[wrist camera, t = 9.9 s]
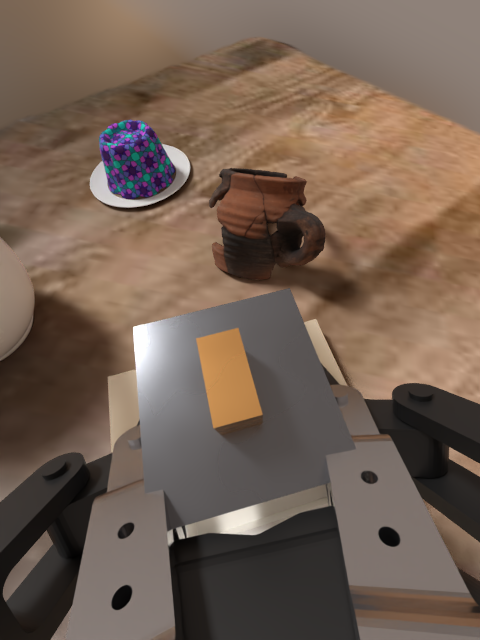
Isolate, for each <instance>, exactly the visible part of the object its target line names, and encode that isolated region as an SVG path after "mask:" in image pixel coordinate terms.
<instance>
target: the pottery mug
mask: <svg viewBox="0 0 480 640" xmlns="http://www.w3.org/2000/svg"><path fill="white" fill-rule="evenodd" d="M219 176H220V177H221V178H222V183H221V184H220V185H219V186H218V187H217V188H216V190H215V191H214V193H213V195H212V197H211V199H210V200H209V206H210V208H212V207H214V206H215V204H216V202H217V200H222V201H221V202H220V205H219V206H218V208H217V217H218V221H219V222H220V223H221V224H222V225H223V227H222V228H221V229H222V237H223V244H224V246H222V245H220V244H218V243H217V242H215V243H213V244H212V251H213V255H214V259H215V265H216V266H217V267H218V268H220V269H221V270H223V271H225V272H228V273H230V274H233V275H236V276H238V277H243V278H247V279H269V278H270V276H271V271H272V270H273V268H274V265H275V263H277V264H278V265H279V266H280V267H288V266H290V265H294V266H295V265H299V266H301V265H304V264H307V263H308V262H310V261H312V260H314V259H315V258H316V257H317V256H318V255H319V253H320V252H321V251H323V249H324V243H325V229H324V226H323V224H322V222H321V221H320V220H319V218H318V217H316V216H315V215H313V214H312V213H309V212H306V211H305V209H304V207H302V206H304V205H305V203H306V198H305V196H304V193H303V192H304V187H305V185H306V182H307V181H306V180H305V179H302V178H299V177H297V176H295V177H294V178H293V179H292V178H287V175H286V174H284V173H277V172H269V171H262V170H251V169H237V168H233V169H232V168H230V169H223V170H222V171H221V172H220V174H219ZM267 223H277V229H278V230H277V231H276V232H275V233H274V234H272V235H269V232H268V226H267V225H268V224H267ZM303 236H304V243H303V246H302V247H301V248H300V246H301V243H302V237H303Z"/></svg>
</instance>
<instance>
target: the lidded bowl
mask: <svg viewBox="0 0 480 640" xmlns="http://www.w3.org/2000/svg"><path fill="white" fill-rule="evenodd" d="M34 305H35V296H34V288H33V284H32V281H31V279H30V276H29V274H28V271H27V270H26V268H25V267H24V265H23V264H22V262H21V261H20V259H19V258H18V256H17V255H16V254H15V253H14V251H13V250H12V249H11V248H10V247H9V245H8V244H7V243H6V242H5V241H4V240H3V239H2V238H1V237H0V361H2V360H3V359H5V358H6V357H8V356H9V355H11V354H12V353H13V352H14V351H15V350H16V349H17V348H18V347H19V346H20V345H21V344H22V343H23V342H24V340H25V339H26V337H27V336H28V334H29V332H30V330H31V328H32V324H33V318H34V315H33V312H34Z"/></svg>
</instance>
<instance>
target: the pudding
mask: <svg viewBox="0 0 480 640" xmlns="http://www.w3.org/2000/svg"><path fill="white" fill-rule="evenodd" d="M99 144H100V152H101V156H102V160H103V161H102V162H101V163H100V164H99V165H98V166H97V167H96V168H95V170H94V171H93V173H92V176H91V178H90V188H91V191H92V193H93V195H94V196H95V197H96V198H97V199H98V200H100V201H102V202H103V203H106V204H108V205H111V206H116V207H127V208H129V207H140V206H145V205H149V204H152V203H156V202H158V201H160V200H163V199H165V198H167V197H168V196H170V195H172V194H173V193H175V192H176V191H177V190H178V189H179V188H180V187H181V186H182V185H183V184H184V183H185V181H186V180H187V178H188V176H189V173H190V162H189V160H188V158H187V156H186V155H185V154H184V153H183V152H181V151H180V150H179V149H177V148H174V147H172V146H168V145H164V144H161V142H160V140H159V139H158V137H157V135H156V133H155V132H154V131H153V129H152V128H151V127H149V126H148V125H147V124H146V123H145V122H143V121H132V120H125V121H122V122H120V123H115V124H112V125H110V126H109V127H108V128H107V130H105V131H103V132H102V133H101V134H100V137H99ZM172 163H173V164H174V166H175V167H174V166H173V164H172ZM175 168H176V177H175V179H174V181H173V179H172V177H171V176H172V175H173V174H174V173H175ZM107 180H108V184H109V188H110V190H109V189H108V186H107ZM172 181H173V183H172ZM171 183H172V184H171ZM170 184H171V185H170ZM169 185H170V186H169ZM168 186H169V187H168ZM165 187H168V188H167V189H166V190H164V191H163V192H161V193H159V194H157V193H158V192H159V190H160V189H161V188H165ZM110 191H111V192H112V193H114V194H121V195H122V197H123V198H126V199H122V198H119V197H117V196H115V195H113V194H112V193H111V192H110ZM155 194H157V195H155ZM153 195H155V196H153ZM139 196H142V197H149V198H146V199H140V200H127V199H135V198H137V197H139ZM150 196H152V197H150Z"/></svg>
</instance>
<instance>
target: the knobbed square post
mask: <svg viewBox="0 0 480 640" xmlns="http://www.w3.org/2000/svg"><path fill="white" fill-rule="evenodd" d="M133 333H134V347H135V362H136V376H137V390H138V404H139V418H140V432H141V446H142V460H143V474H144V488H145V493H149V492H154V491H158V490H163V491H164V495H165V500H166V505H167V510H168V515H169V520H170V525H171V530H172V529H175V528H179V527H182V526H185V525H189V524H192V523H195V522H199V521H202V520H206V519H209V518H212V517H216V516H219V515H223V514H226V513H229V512H233V511H236V510H239V509H243V508H246V507H250V506H253V505H256V504H260V503H263V502H266V501H270V500H273V499H277V498H280V497H283V496H287V495H290V494H294V493H297V492H300V491H304V490H307V489H310V488H314V487H317V486H321V485H324V484H327V483H330V481H329V474H328V467H327V460H326V455H330V454H335V453H339V452H344V451H349V450H354V449H356V447H355V444H354V442H353V439H352V437H351V435H350V432H349V430H348V427H347V425H346V423H345V420H344V418H343V415H342V413H341V411H340V408H339V406H338V403H337V401H336V399H335V396H334V394H333V391H332V389H331V387H330V384H329V382H328V379H327V377H326V375H325V372H324V370H323V367H322V365H321V362H320V360H319V358H318V355H317V353H316V350H315V348H314V346H313V343H312V341H311V338H310V336H309V334H308V331H307V329H306V326H305V324H304V322H303V319H302V317H301V314H300V312H299V310H298V307H297V305H296V302H295V300H294V298H293V295H292V293H291V290H290V288H288V289H284V290H280V291H276V292H272V293H268V294H264V295H260V296H256V297H252V298H248V299H244V300H240V301H236V302H232V303H228V304H224V305H220V306H216V307H212V308H208V309H204V310H200V311H196V312H192V313H188V314H184V315H180V316H176V317H172V318H168V319H164V320H160V321H156V322H152V323H148V324H144V325H140V326H136V327H133Z"/></svg>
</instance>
